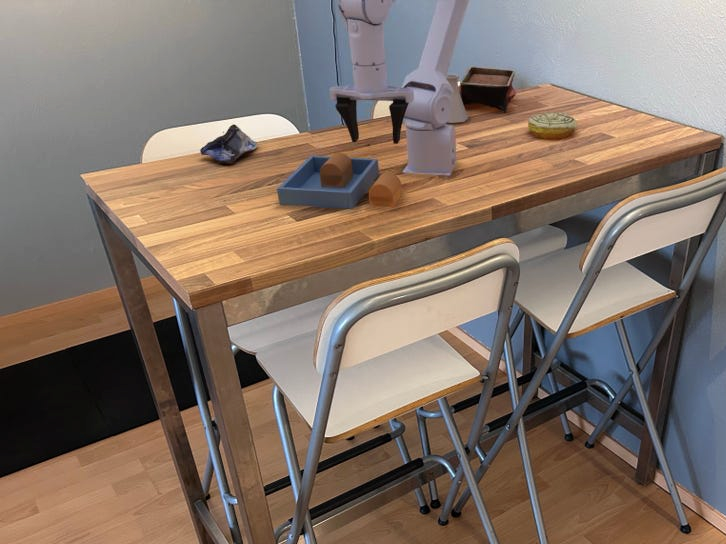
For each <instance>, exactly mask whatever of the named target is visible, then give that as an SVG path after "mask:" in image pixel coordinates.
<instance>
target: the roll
mask: <svg viewBox="0 0 726 544" xmlns="http://www.w3.org/2000/svg"><path fill="white" fill-rule="evenodd" d="M329 157H330V158H329V159H328V161H327V162H326V163H325V164H324V165H323V166H322V167H321V169H320V180H321V187H338V188H344V187H345V186H346V185H347V183H348V182H349V181H350V180H351V178H352V177H353V169H352V162H351V160H350V158H351V157H349V156H348V155H347V154H345V153H343V152H335V153H333V154H332V155H331V156H329Z"/></svg>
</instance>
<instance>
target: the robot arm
mask: <svg viewBox="0 0 726 544" xmlns="http://www.w3.org/2000/svg"><path fill="white" fill-rule="evenodd" d="M338 1H339V2H337V4H336V5H337V9H338V12H339V14H340V16H341V18H342V19H343V21H344V26H345V27H344V28H345V30H346V32H347V33H348V41H349V49H350V58H351V67H352V78H353V85H332V86H331V87H330V88H329V97H330V101H336V103H335V104H334V105H335V109H336V111H337V112H338V114H339V115H340V117H341V119H342V120H343V122H344V124H345V126H346V128H347V131H348V133H349V136H350V139H351V142H352V143H356V142H358V140H359V139H360V132H359V126H358V118H357V117H358V114H357V113H358V112H357V111H358V110H357V103H358V101H377V102H378V101H379V102H391V103H390V105H389V106H388V110H389V114H390V118H391V126H392V127H391V128H392V143H393V144H394V145H397V144H398V145H399V143H400V141H401V132H402V126H403V125H404V126H405V134H406V135H405V136H406V151H407V152H406V154H407V165H406V166H405V168H404V169H403V171H402V173H404V174H419V175H421V174H422V175H438V176H446V177H447V178H448V177H450V176H451V175H452V173H453V171H454V170H455V168H456V166H457V163H458V161H457V146H456V145H457V143H456V139H457V138H456V129H455V126H454V125H449V124H447V121H448V119H449V117H450V115H451V110H452V97H453V93H454V90H453V88H452V87H451V85H450V83H449V82H448V80H447V79H446V75H447V74H448V72H449V67H450V64H451V61H452V59H453V56H454V55H453V54H454V51H455V48H456V45H457V41H458V38H459V36H460V35H459V34H460V32H461V28H462V25H463V21H464V19H465V15H466V11H467V9H468V6H469V2H470V0H438V1H437V4H436V8H435V11H434V14H433V17H432V22H431V24H430V26H429V27H430V28H429V31H428V35H427V38H426V41H425V45H424V47H423V50H422V54H421V58H420V61H419V65H418V67H417V68H416V69H415V70H413V71H411V72H410V73H408V74H407V75H405V77H404V80H403V82H402V85H401V86H396V85H395V86H393V85H388V77H387V76H388V74H387V73H388V72H387V63H386V62H387V61H386V49H385V36H384V24H383V23H384V22H385V21H386V20H387V18H388V16H389V12H390V8H391V7H392V6H393V3H395V1H396V0H338Z"/></svg>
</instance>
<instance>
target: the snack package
mask: <svg viewBox="0 0 726 544" xmlns="http://www.w3.org/2000/svg"><path fill="white" fill-rule="evenodd" d="M222 134H223V135H219V136H218V137H215V139H213V140H212V141H209V142H207V143H206V144H205V145H204V146H202V147H201V148H200V150H199V151H200V154H201V155H202V156H209V157H211V158H213V159H214V160H215V162H216V163H218V164H223V165H224V164H227V165H233V164H234V163H235V161H236V160H237V159H239V158H240V157H241V156H242V155H244V154H245V153H248V152H251V151H254V150H255V149H256V148H257V147H258V145H259V143H258V142H257V140H256V141H255V140H253V139H252V138H251V137H250V136H249V135H248V134H246V133H245V132H244V131H243V130H242V129H241V128H240V127H239V126H238V125H236V124H235V123H234V124H231V125H230V126H229V127H228V129H227V130H226V132H225V131H222ZM205 159H206V158H205V157H204V158H203V160H205Z"/></svg>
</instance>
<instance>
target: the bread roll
mask: <svg viewBox="0 0 726 544" xmlns="http://www.w3.org/2000/svg"><path fill="white" fill-rule="evenodd" d="M402 195H403V188H402V181H401V179H400V178H399V176H398V175H397V174H395V173H393V172H389V171H386V172H382V173H381V174H379V176H378V177H377V178H376V180H375V181H374V182H373V185H371V186H370V188H369V190H368V201H369V206H371V207H372V206H373V207H389V208H390V207H391V208H394V207H395V206H396V204H397V203H398V201H399V199H400V198H401V197H402Z"/></svg>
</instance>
